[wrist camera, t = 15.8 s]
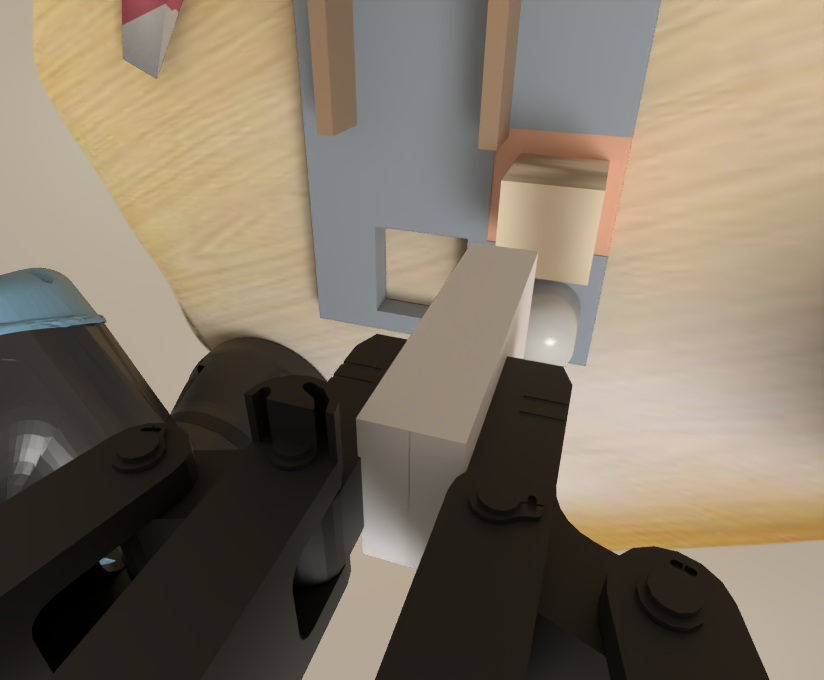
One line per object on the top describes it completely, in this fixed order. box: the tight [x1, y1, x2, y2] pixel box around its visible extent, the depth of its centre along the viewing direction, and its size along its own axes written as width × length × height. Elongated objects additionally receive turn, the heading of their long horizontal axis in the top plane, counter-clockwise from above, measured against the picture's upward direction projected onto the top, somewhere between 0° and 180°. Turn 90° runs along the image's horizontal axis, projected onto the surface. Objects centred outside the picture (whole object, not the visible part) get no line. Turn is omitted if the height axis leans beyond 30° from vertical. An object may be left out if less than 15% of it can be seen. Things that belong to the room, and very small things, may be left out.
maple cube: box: [495, 153, 610, 286], centre depth 31 cm, size 5×5×6 cm
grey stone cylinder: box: [523, 280, 581, 367], centre depth 35 cm, size 4×4×5 cm
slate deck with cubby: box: [293, 0, 661, 366], centre depth 33 cm, size 20×29×6 cm
